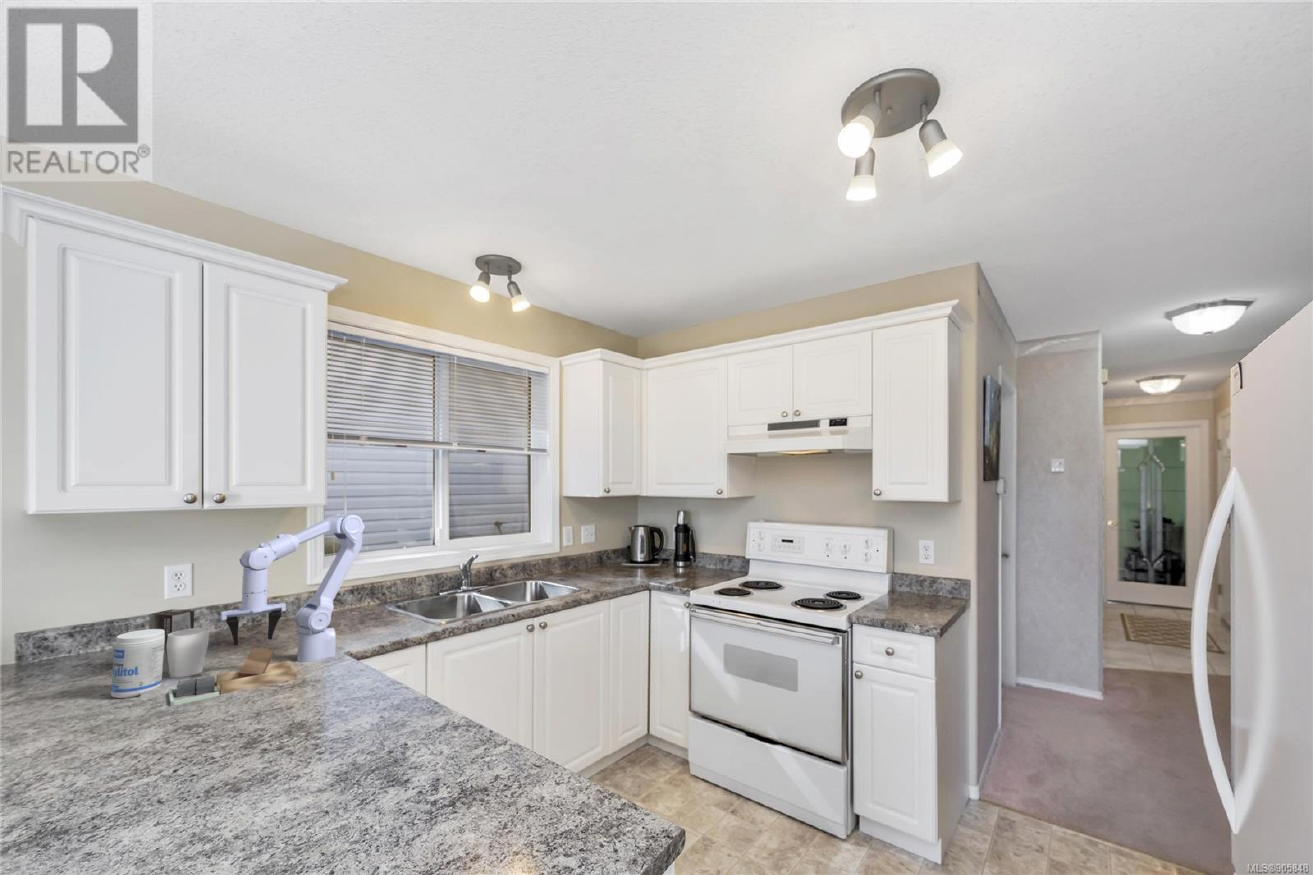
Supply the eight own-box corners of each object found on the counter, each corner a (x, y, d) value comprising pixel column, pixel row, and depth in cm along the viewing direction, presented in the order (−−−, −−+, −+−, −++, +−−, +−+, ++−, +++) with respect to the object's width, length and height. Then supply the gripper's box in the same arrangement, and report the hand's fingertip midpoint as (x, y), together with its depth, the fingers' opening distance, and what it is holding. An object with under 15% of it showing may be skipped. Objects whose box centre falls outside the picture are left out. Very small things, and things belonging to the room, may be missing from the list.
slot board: (288, 672, 156) (289, 660, 157) (296, 682, 149) (296, 668, 149) (216, 687, 145) (216, 674, 146) (220, 698, 138) (221, 684, 138)
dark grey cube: (196, 692, 141) (197, 678, 142) (194, 696, 138) (195, 682, 139) (178, 695, 139) (178, 681, 140) (176, 700, 136) (177, 685, 137)
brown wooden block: (237, 680, 145) (251, 655, 153) (260, 681, 147) (272, 657, 155) (238, 673, 144) (252, 648, 152) (261, 674, 146) (273, 649, 154)
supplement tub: (101, 701, 137) (105, 640, 138) (124, 687, 146) (128, 630, 147) (149, 696, 140) (152, 636, 141) (169, 683, 149) (172, 627, 150)
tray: (213, 687, 146) (214, 680, 146) (218, 699, 138) (219, 692, 138) (168, 697, 139) (168, 689, 140) (170, 710, 131) (170, 702, 132)
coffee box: (193, 666, 163) (196, 610, 164) (169, 673, 157) (172, 615, 158) (169, 664, 165) (172, 608, 166) (145, 671, 159) (148, 613, 160)
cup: (169, 684, 148) (172, 638, 149) (160, 677, 153) (162, 633, 154) (211, 675, 155) (213, 630, 156) (201, 668, 161) (203, 626, 162)
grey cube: (213, 690, 143) (214, 675, 143) (214, 694, 140) (214, 679, 140) (196, 693, 141) (196, 679, 141) (196, 697, 138) (196, 682, 138)
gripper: (223, 597, 148) (221, 650, 147) (288, 589, 158) (287, 639, 157) (220, 594, 153) (218, 645, 152) (283, 586, 163) (282, 634, 162)
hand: (253, 641), depth 155 cm, fingers open, 7 cm apart
